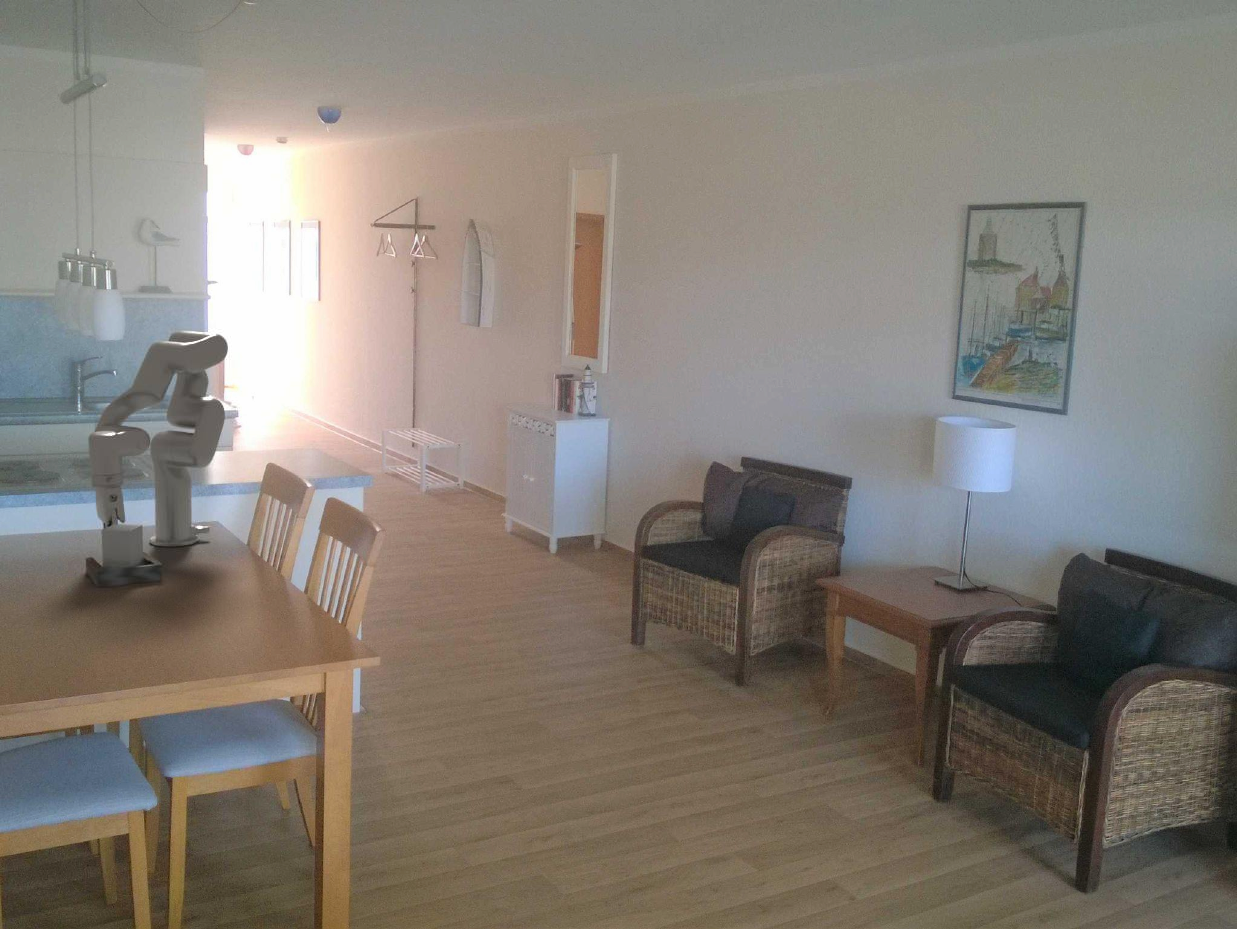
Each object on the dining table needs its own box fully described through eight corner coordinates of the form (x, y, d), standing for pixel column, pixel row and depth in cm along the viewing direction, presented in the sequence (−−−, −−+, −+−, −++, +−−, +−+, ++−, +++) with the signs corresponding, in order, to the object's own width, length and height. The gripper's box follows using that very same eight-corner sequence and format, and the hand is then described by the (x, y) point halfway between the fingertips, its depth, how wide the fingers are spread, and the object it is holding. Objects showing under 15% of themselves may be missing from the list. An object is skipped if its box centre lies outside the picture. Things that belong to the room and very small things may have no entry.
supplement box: (144, 573, 286) (143, 524, 284) (131, 580, 279) (130, 531, 277) (115, 571, 286) (114, 522, 284) (101, 579, 279) (100, 529, 277)
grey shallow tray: (146, 566, 292) (146, 551, 291) (162, 580, 281) (162, 564, 280) (84, 573, 283) (83, 558, 282) (98, 587, 272) (97, 571, 271)
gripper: (130, 483, 287) (134, 552, 291) (115, 471, 298) (119, 538, 302) (98, 487, 282) (103, 557, 286) (84, 474, 294) (89, 542, 298)
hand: (111, 547), depth 294 cm, fingers closed
